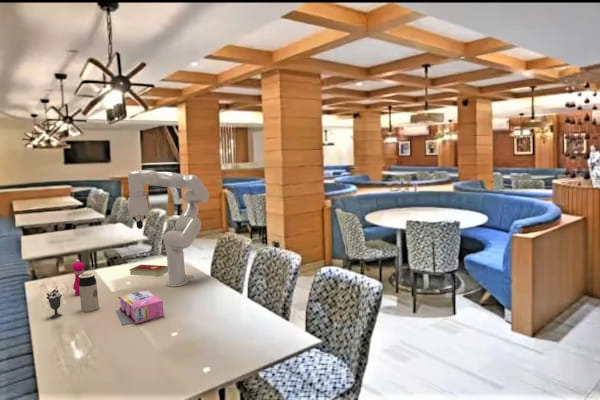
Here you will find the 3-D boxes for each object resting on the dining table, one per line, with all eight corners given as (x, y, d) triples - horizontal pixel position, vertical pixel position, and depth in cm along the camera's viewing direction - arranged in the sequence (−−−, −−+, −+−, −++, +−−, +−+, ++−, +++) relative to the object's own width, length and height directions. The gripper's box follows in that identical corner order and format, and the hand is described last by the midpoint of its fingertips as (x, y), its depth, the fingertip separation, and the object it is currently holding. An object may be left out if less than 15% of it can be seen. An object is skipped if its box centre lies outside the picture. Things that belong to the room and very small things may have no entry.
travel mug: (78, 311, 219) (74, 276, 217) (90, 305, 226) (87, 272, 224) (90, 313, 216) (86, 277, 214) (102, 307, 224) (99, 273, 221)
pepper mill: (77, 292, 249) (73, 258, 247) (90, 291, 250) (86, 257, 247) (71, 296, 242) (68, 261, 240) (85, 295, 243) (81, 260, 240)
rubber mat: (148, 303, 226) (148, 303, 226) (158, 317, 207) (158, 316, 207) (115, 310, 218) (115, 310, 218) (122, 325, 199) (122, 324, 199)
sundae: (67, 314, 216) (64, 284, 214) (56, 319, 210) (52, 289, 208) (57, 313, 218) (53, 283, 216) (45, 318, 212) (42, 288, 210)
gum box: (146, 303, 226) (118, 310, 218) (144, 288, 225) (117, 294, 217) (164, 316, 208) (135, 324, 199) (162, 300, 207) (133, 307, 198)
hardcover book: (141, 270, 292) (141, 263, 291) (169, 271, 286) (168, 265, 285) (129, 275, 281) (129, 268, 280) (158, 277, 274) (157, 270, 274)
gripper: (150, 192, 240) (152, 225, 242) (121, 195, 232) (124, 229, 234) (153, 193, 233) (155, 227, 235) (123, 196, 226) (126, 231, 228)
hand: (140, 228), depth 235 cm, fingers closed
